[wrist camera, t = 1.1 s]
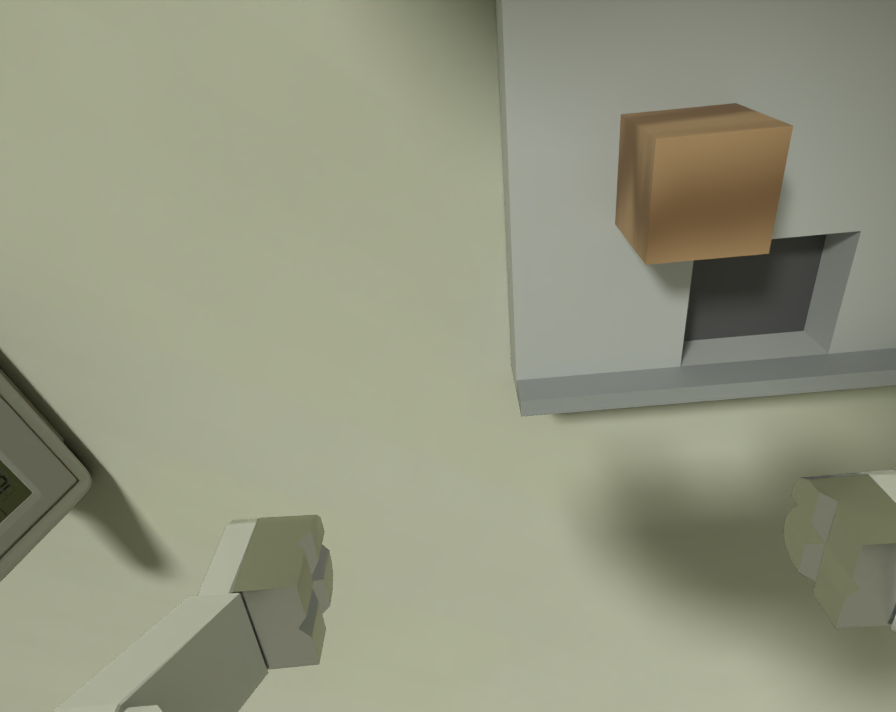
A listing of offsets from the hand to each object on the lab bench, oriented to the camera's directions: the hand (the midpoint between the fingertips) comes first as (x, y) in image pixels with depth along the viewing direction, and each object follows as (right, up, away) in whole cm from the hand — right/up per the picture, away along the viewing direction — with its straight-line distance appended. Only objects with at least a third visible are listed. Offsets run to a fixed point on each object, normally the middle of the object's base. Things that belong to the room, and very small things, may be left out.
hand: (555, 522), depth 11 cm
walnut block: (+8, +12, +18) cm, 23 cm away
